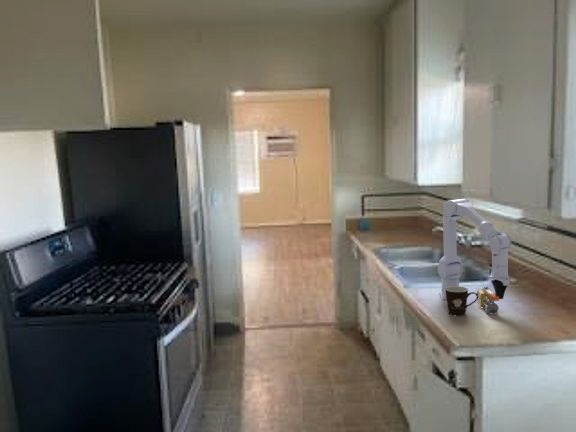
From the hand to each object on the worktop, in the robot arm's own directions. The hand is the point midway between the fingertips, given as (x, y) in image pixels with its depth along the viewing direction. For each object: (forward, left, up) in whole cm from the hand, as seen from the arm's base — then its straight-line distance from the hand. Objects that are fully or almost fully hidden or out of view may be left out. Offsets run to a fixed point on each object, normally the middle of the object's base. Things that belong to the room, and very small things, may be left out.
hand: (499, 298), depth 203 cm
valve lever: (-3, -3, 0) cm, 4 cm away
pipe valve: (-7, -3, -6) cm, 9 cm away
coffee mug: (+1, -15, -6) cm, 16 cm away
